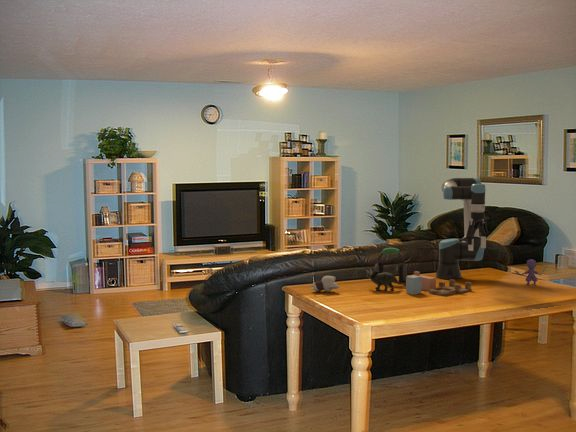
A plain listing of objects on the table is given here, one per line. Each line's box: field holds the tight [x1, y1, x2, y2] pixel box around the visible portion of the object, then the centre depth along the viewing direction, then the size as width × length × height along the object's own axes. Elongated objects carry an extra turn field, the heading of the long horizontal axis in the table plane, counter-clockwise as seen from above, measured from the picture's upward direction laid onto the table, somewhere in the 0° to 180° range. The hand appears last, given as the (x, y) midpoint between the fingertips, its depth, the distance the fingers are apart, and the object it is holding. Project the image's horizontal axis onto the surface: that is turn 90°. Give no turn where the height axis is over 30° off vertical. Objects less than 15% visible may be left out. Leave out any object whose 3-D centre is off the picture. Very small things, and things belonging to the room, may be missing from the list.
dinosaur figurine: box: [365, 267, 406, 292], centre depth 366 cm, size 22×8×11 cm, turn 71°
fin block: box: [405, 274, 422, 295], centre depth 358 cm, size 5×7×9 cm
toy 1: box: [310, 275, 340, 293], centre depth 362 cm, size 13×9×15 cm
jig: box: [428, 279, 473, 297], centre depth 360 cm, size 14×22×4 cm, turn 130°
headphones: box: [374, 247, 408, 283], centre depth 390 cm, size 19×11×20 cm, turn 80°
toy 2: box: [513, 258, 549, 287], centre depth 375 cm, size 18×6×15 cm, turn 84°
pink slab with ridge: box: [410, 270, 437, 292], centre depth 369 cm, size 14×5×9 cm, turn 36°
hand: (477, 249), depth 370 cm, fingers open, 13 cm apart
